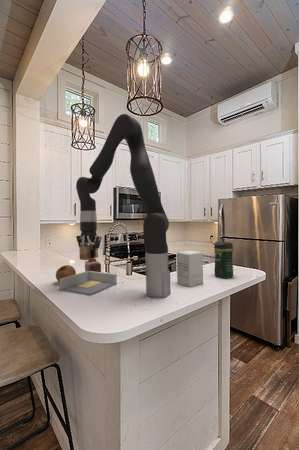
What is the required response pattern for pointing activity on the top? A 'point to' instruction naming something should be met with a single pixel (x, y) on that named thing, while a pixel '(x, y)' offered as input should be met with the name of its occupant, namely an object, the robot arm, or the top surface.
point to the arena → (88, 282)
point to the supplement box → (190, 268)
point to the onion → (65, 272)
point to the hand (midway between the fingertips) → (89, 257)
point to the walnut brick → (86, 252)
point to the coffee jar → (223, 259)
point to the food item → (92, 265)
